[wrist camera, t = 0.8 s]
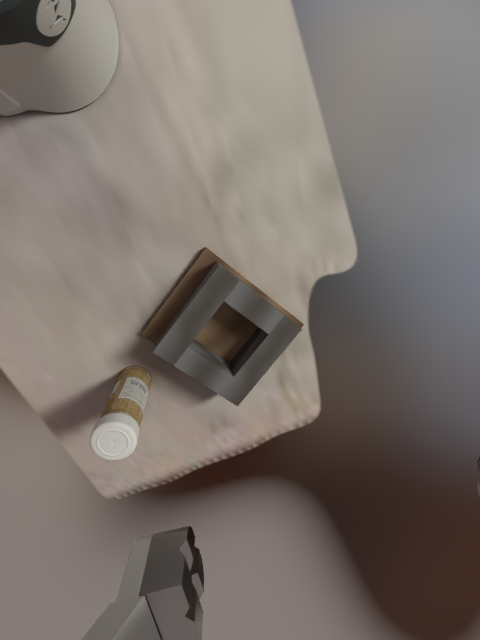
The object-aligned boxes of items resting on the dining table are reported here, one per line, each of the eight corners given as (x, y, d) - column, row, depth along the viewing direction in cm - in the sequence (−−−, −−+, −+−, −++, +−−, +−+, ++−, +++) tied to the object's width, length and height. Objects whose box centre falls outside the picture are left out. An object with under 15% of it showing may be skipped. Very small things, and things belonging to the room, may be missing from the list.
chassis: (142, 331, 42) (135, 346, 37) (205, 247, 40) (207, 250, 35) (240, 395, 47) (247, 416, 42) (301, 322, 45) (315, 335, 40)
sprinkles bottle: (111, 376, 43) (78, 438, 31) (139, 359, 43) (118, 414, 31) (131, 400, 45) (107, 470, 32) (158, 384, 45) (146, 447, 32)
